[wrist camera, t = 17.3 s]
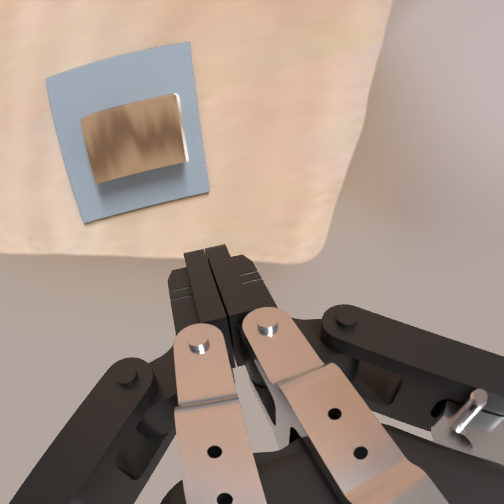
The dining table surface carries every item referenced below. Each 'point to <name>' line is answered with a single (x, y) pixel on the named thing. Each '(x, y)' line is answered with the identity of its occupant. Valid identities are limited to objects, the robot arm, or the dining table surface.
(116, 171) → the slab
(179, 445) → the robot arm
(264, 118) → the dining table surface
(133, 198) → the mat
